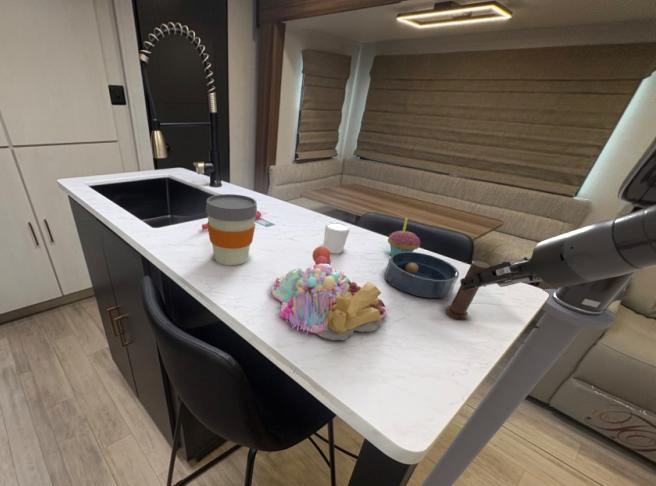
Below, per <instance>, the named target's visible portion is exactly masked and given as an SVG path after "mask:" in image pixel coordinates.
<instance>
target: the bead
mask: <svg viewBox="0 0 656 486" xmlns="http://www.w3.org/2000/svg"><path fill="white" fill-rule="evenodd" d="M405 271H406V272H408V273H410V274H415V273H416V272H417V271H418V265H417V264H416V263H408V264H407V265H406V267H405Z"/></svg>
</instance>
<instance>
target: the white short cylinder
mask: <svg viewBox="0 0 656 486" xmlns="http://www.w3.org/2000/svg"><path fill="white" fill-rule="evenodd" d="M349 233H350V227H349V226H348V225H346V224H344V223H339V222H329V223H326V224H325V226H324V236H323V245H322V246H324V247H326V248H328V250H329V251H330V254H341V253H342V252H343V251H344V247H345V245H346V241H347V239H348V236H349Z"/></svg>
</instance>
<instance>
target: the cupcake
mask: <svg viewBox="0 0 656 486" xmlns="http://www.w3.org/2000/svg"><path fill="white" fill-rule="evenodd" d="M408 220H409V218H408V215H406V216H405V218H404V222H403V227H402V230H397V231H394V232H392V233H390V234H389V236H388V239H387V243H388V244H389V247H390V255H391V256H392V255H393V254H395V253H398V252H415V250H418V249H419V247H420V246H421V240H420V238H419V237H418V235H416V233H414V232H412V231H407V230H406V229H407V224H408Z"/></svg>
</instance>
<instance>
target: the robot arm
mask: <svg viewBox="0 0 656 486" xmlns="http://www.w3.org/2000/svg"><path fill="white" fill-rule="evenodd" d="M617 198H618V200H619V202H622V203H624V204H627V205H631V206H636V207H641V209H637V210H635V211H632V212H629V213H626V214H622V215H621V216H616V217H614V218H609V219H605V220H601V221H598V222H593V223H592V224H588V225H585V226H582V227H579V228H576V229H573V230H571V231H568V232H565V233H562V234H559V235H556V236H554V237H550V238H547V239H544V240H541V241H540V242H538V243H537V244H536V245H535V247H533V250H532V254H531V257H530V258H528V256H524V257H519V258H516V259H514V260H512V261H503V262H501V263H498V264H495V265H490V267H488V268H485V269H481V270H478V271H474V272H472V275H473V276H469V277H466V278H465V277H463V278H461V279H460V280H459V282H460V286H462V289H463V290H470V289H474V288H478V287H479V288H481V287H483V288H485V287H488V286H492V285H497V286H498V287H500V288H502V287H508V286H511V285H512V286H513V285H517V284H533V283H538V282H543V283H545V284H546V285H548V286H549V287H552V288H556V289H557V291H556V292H555V293H554V294H553V296H552V299H553V300H554V301H555V302H556V303H558V304H559V305H561V306H563V307H565V308H567V309H569V310H572V311H574V312H577V313H581V314H585V315H591V316H598V315H600V314H601V313H602V312H605V311H606V309H607V308H608V309H609V307H610V306H611V305H612V304H613V303H614V302H615V301H623V299H624V298H625V297H626V296H627V295H628V294H629V291H628V290H626V289H625V288H626V287H627V286H628V285H629V284H630V282H632V280H633V276H634V275H635V274H636V273H637V271H640V270H644V269H650V268H654V267H656V136H655V137H654V138H653V140H652V141H651V142H650V143H649V145H648V147H647V148H646V149H645V151H644V152H643V153H642V155H641V156H640V157H639V158H638V160H637V161H636V163H635V164H634V166H633V167H632V168H631V170H630V171H629V172H628V174H626V177H625V178H624V180H623V181H622V183H621V185H620V187H619V189H618V192H617Z"/></svg>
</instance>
